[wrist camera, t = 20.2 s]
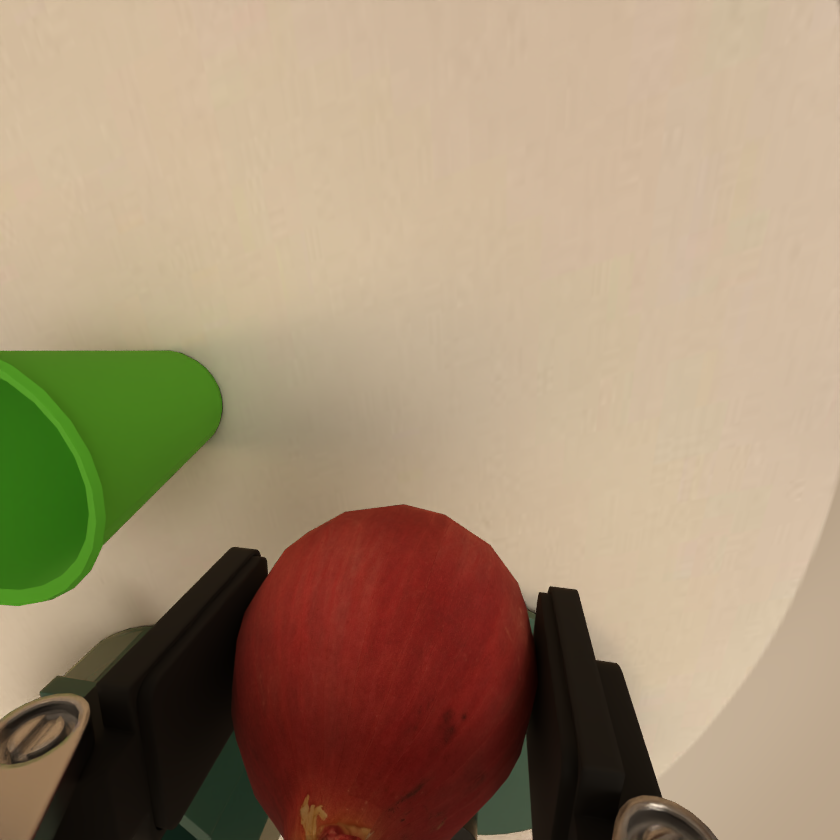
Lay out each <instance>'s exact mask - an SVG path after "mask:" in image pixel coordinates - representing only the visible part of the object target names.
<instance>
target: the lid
mask: <svg viewBox="0 0 840 840" xmlns="http://www.w3.org/2000/svg"><path fill="white" fill-rule="evenodd" d="M527 612H528V617H529V621H530V626H531V630H532V634H533V631H534V624H535V616H536V614H534V613H532V612H530V611H528V610H527ZM529 829H532V820H531V804H530V788H529V772H528V756H527V740H526V735H525V739H524V743H523V747H522V751H521V755H520V757H519V759H518V760H517V762H516V764H515V766H514V768H513V770H512V772H511V773H510V775H509V777H508V778H507V780H506V781H505V782H504V783H503V784H502V786H501V787H500V788H499V789H498V790H497V792H496V793H495V794H494V795H493V796H492V798H491V799H490V800H489V801H488V802H487V803H486V804H485V805H484V806H483V807H482V808H481V809H480V810H479V811H478V812H477V813H476V814H475V815H474V816H473V817H472V818H471V819H470V820H469V821H468V822H467V823H466V824H465V825H464V826H463V827H462V828H461V829H460V830H459V831H458V832H457V833H456V834H455V835H454V836H453V837H452V838H451V839H450V840H477V835H497V834H508V833H514V832H521V831H525V830H529Z"/></svg>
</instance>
